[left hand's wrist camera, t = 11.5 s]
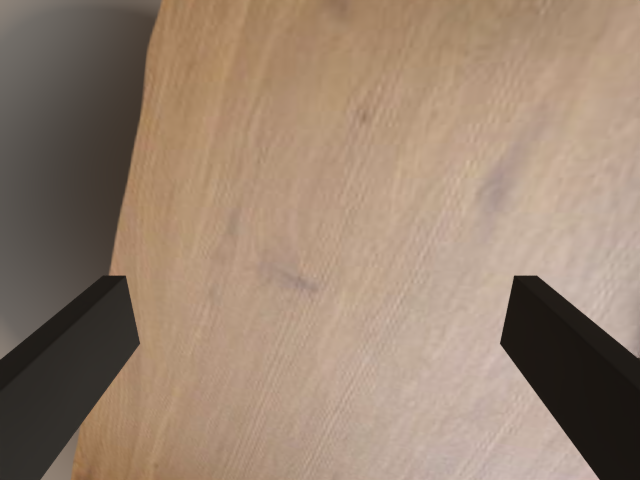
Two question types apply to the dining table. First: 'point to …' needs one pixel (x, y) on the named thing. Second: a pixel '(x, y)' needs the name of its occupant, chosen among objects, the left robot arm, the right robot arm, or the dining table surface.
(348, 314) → the dining table surface
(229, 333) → the dining table surface
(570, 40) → the dining table surface
